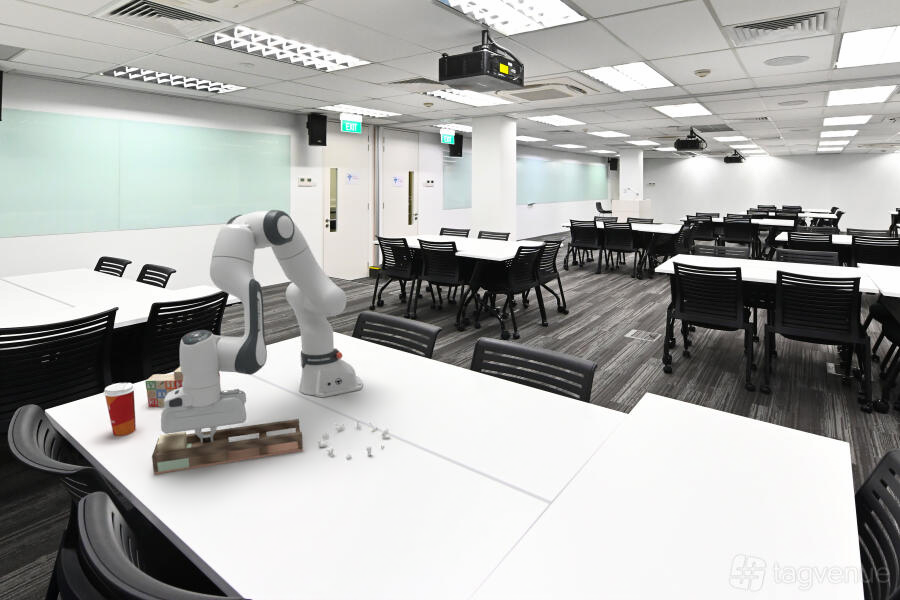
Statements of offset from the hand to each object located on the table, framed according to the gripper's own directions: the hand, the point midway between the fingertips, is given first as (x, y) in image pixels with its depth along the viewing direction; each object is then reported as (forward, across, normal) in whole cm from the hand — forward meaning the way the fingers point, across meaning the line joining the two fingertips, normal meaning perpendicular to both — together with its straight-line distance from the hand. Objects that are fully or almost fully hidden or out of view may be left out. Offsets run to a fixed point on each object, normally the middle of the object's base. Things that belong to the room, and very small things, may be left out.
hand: (207, 442), depth 136 cm
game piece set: (+5, -38, +5) cm, 39 cm away
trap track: (+4, -6, 0) cm, 7 cm away
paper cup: (+4, +24, -24) cm, 34 cm away
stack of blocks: (+5, +10, -41) cm, 43 cm away
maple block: (+1, +8, 0) cm, 8 cm away
